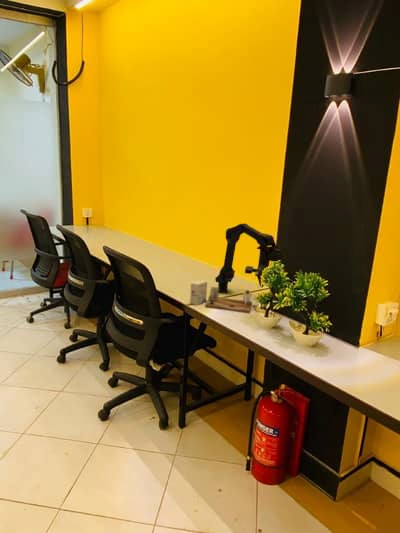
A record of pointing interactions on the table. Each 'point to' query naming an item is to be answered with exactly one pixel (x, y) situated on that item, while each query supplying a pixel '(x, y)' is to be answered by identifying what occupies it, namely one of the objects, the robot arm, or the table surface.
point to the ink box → (198, 292)
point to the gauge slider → (246, 296)
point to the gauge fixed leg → (214, 293)
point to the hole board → (229, 304)
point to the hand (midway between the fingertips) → (261, 286)
